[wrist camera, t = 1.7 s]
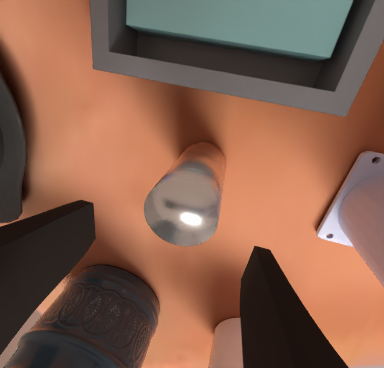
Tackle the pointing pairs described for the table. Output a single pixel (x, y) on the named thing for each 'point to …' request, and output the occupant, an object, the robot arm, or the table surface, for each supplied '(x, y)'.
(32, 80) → the table surface
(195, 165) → the peg
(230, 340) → the candle holder
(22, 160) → the casserole
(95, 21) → the tray
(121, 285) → the canister
